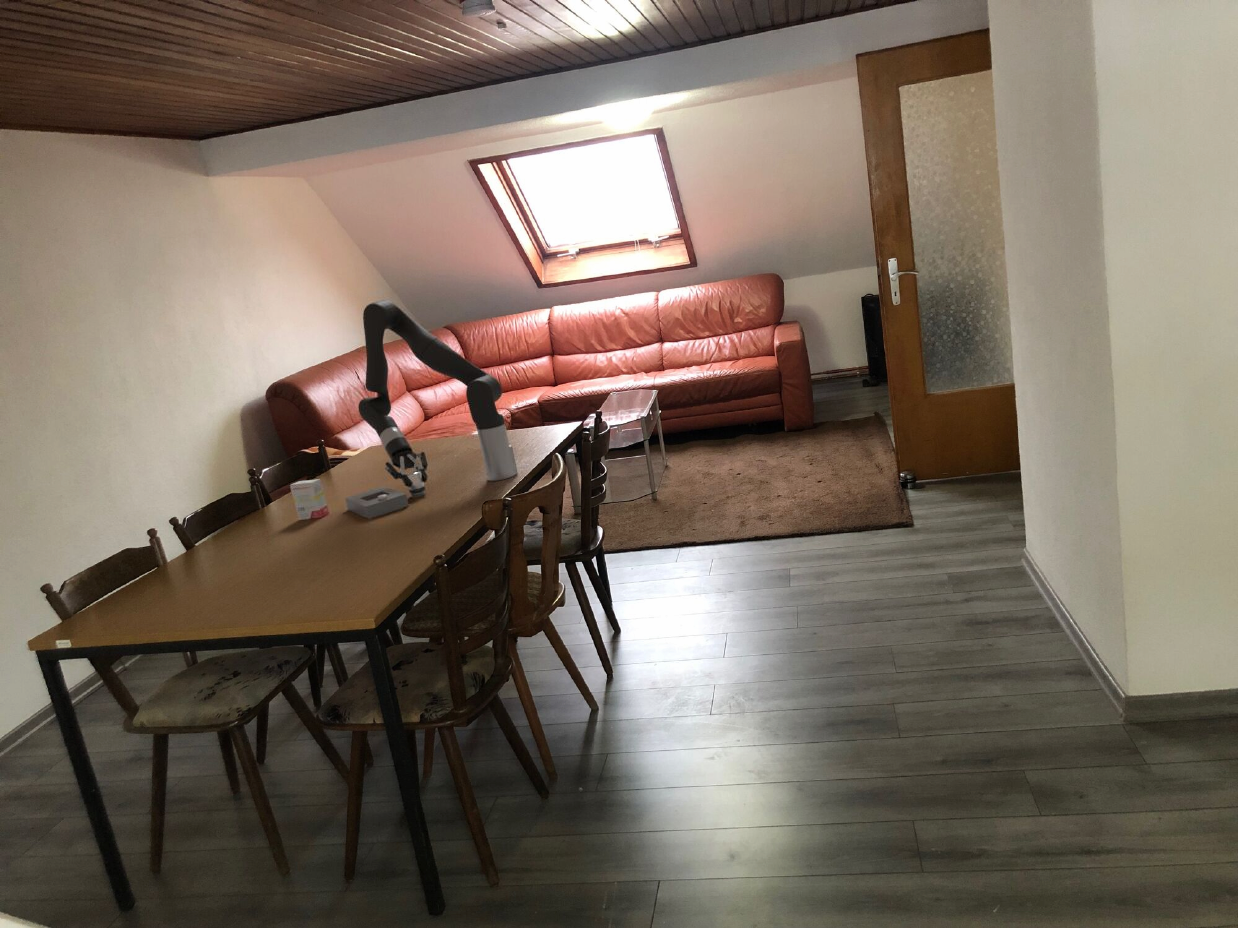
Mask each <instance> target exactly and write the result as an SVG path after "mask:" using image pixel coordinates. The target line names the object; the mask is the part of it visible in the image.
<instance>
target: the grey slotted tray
mask: <svg viewBox="0 0 1238 928" xmlns="http://www.w3.org/2000/svg"><path fill="white" fill-rule="evenodd" d="M344 500H345V504H346V508H347V510H348V511H350V512H352V513H354V512H355V513H354V514H357V515H359V516H361V517H364V518H366V519H369V520H371V519H374V518H377V517H380V516H383V515H386V514H389V513H393V512H395V511H398V510H401V509H404V507H405V508H408V507H409V506H410V505H409V501H408V498H407V493H405V492H401V491H398V490H395V489H392V488H389V487H387V486H384V485H383V486H379V487H376V488H373V489H369V490H367V491H364V492H363V491H362V492H360V493H356V494H354V495H350V496H347V497H344ZM373 517H374V518H373Z"/></svg>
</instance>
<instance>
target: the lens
mask: <svg viewBox="0 0 1238 928" xmlns="http://www.w3.org/2000/svg"><path fill="white" fill-rule="evenodd" d="M405 475H407V477H408V479H409V480H410V482H411V486H410V487H408V492H409V495H410V498H411V499H413V498H414V499H416V498H420V497H424V496H426V494H427V492H426V485H425V482H423V478H422V473H421V471H416V470H413V471H410V472H407V473H405Z"/></svg>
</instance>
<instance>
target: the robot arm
mask: <svg viewBox="0 0 1238 928" xmlns="http://www.w3.org/2000/svg"><path fill="white" fill-rule="evenodd" d="M362 316H363V317H362V321H363V330H364V341H365V352H366V355H365V356H366V366H365V367H366V369H365V370H366V371H365V372H366V373H365V383H364V384H365V385H364V386H365V388H366V390H367V391H369V392H371V393H375V394H377V396H373V397H364V398H362V399H361V400H360V401H359V403H358V407H357V408H358V412H359V416H360V417H361V418H362V419H363V420H364V421H365V422H366V423H367V424H368V425H369V426H370V427H371V428H372V429H373V430H374V431H375V433H376V434H377V436H378V438H379V439H380V442H381V445H382V447H383V449H384V450H385V452H386V453H387V456H388V458H389V459H390V460H391V461H387V462H385V466H384V469H385V470H386V471H387V473H388V474H390V475H391V477H392V478H393V479H395V480H398V479H401V481H402V482H403V484H404V486H405V487H407V488H409V487H410V486H411V482H410V480H409V479H408V477H407V475H406V472H405V471H406V470H408V469H412V470H413V471H421V473H422V478H423V482H424V483H426V482H427V481H428V475H427V473H426V471H427V470H428V465H429V464H428V461H427V457H426V453H425V452H424V451H421V452H420V453H416V452H414V451H413V449H412V447H411V445H410V443H409V442H408V440H407V438H406V436H405V434H404V433H403V432H402V430H401V429H400V428H399V426H398V424H397V422H396V421H395V419H394V418H393V417H392V416H390V413H391V410H392V403H391V399H390V395H389V390H388V389H389V388H388V380H389V379H388V377H389V363H388V361H387V360H388V359H387V357H386V352H385V350H384V349H385V348H384V336H385V331H386V330H389V331H392V332H393V333H395V334H396V335H398V336H399V337H400V338H402V339H403V341H405V343H407V345H408V347H409V349H410V350H411V353H413V355H414V356H415V357H416V359H418V361H420V362H421V363H423V364H424V365H426V366H427V367H428V368H429V369H431V370H433V371H435V372H436V373H439V374H441V375H444V376H446V377H449V378H452V379H454V380H457V381H458V382H460V383H462V384H463V385H465V386H466V388H465V389H466V390H465V391H466V392H465V395H466V396H465V397H466V401H467V405H468V408H469V412H470V416H471V419H472V421H473V423H474V424H475V427H476V432H477V436H478V441H479V445H480V449H481V450H480V451H481V454H482V459H483V463H484V469H485V474H486V478H487V480H488V481H491V482H492V481H493V482H494V481H495V482H496V481H502V480H506V479H510V478H512V477H513V476H515V475H517V474H519V472H518V467H517V462H516V458H515V453H514V448H513V446H512V445H510V442H509V436H508V432H507V427H506V422H505V418H504V415H503V414H500V413H499V412H498V410H497V406H496V402H498V400H499V399H501V397H502V394H503V388H502V384H501V383H500V382H499V380H498V379H497V378H495V377H494V376H493V375H491V374H490V373H489V372H486V371H485V370H483V369H481V368H480V367H477V365H475V364H473V363H471V362H470V361H469V360H467V359H466V358H465V357H464V356H462V355H461V354H459V353H458V352H456V350H454V349H452V348H451V347H450V346H449V345H447V344H446V343H445V342H443V341H442V340H440V339H439V338H438V337H437V336H435V335H433V333H431V332H429V330H427V329H425V328H424V327H423V326H421V325H420V324H419V323H417V322H416V321H415V320H413V319H412V318H411V317H410V316H409V315H408V314H407V313H405V311H403V310H402V308H400V307H399V306H398V305H397V304H396V303H394V302H393V301H390V300H387V299H386V300H385V299H384V300H378V301H375V302H371V303H369V304H367V306H365V308H364V309H363V314H362ZM417 459H418V460H417ZM419 462H420V463H419ZM394 466H395V467H396V468H398V469H399V472H398V470H397V469H395V467H394Z"/></svg>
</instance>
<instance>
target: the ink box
mask: <svg viewBox="0 0 1238 928" xmlns="http://www.w3.org/2000/svg"><path fill="white" fill-rule="evenodd" d="M289 487H290V491H291V494H292V499H293V502H294V505H295V509H296V513H297V517H298V520H299V521H302V520H312V519H321V518H323V517H325V516H326V515H328V514H329V513H330V512H329V508H328V507H329V506H328V505H327V501H326V496H325V493H324V489H323V486H322V481H321V479H320V478H317V479H309V480H299V481H296V482H294V483H291V484H290V485H289Z"/></svg>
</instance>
